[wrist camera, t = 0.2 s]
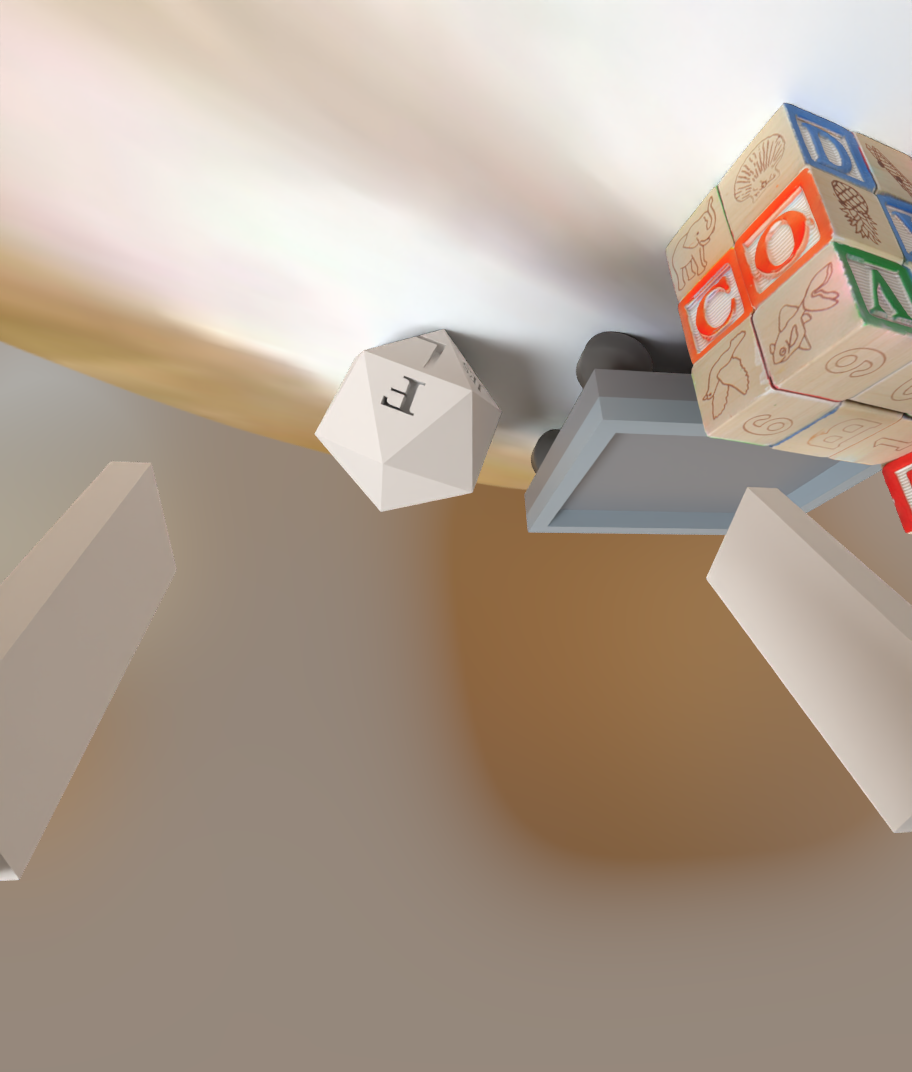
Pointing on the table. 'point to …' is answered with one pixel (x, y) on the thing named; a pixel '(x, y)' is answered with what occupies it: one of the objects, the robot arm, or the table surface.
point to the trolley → (657, 457)
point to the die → (411, 422)
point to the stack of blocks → (805, 298)
